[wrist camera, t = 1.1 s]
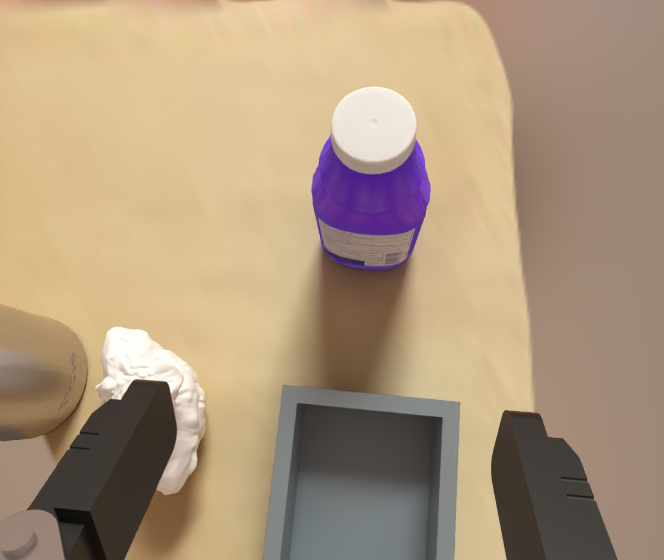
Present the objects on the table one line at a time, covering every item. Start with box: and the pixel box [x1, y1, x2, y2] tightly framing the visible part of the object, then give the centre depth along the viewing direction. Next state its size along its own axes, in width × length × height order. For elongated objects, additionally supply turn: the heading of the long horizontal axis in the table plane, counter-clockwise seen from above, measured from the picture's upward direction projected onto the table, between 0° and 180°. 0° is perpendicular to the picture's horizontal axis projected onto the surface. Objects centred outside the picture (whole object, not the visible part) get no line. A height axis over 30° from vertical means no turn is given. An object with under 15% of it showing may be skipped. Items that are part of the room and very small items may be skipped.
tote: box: [263, 385, 460, 560], centre depth 34 cm, size 11×16×6 cm
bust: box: [95, 327, 206, 495], centre depth 35 cm, size 12×8×11 cm
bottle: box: [312, 87, 430, 270], centre depth 33 cm, size 7×6×17 cm
